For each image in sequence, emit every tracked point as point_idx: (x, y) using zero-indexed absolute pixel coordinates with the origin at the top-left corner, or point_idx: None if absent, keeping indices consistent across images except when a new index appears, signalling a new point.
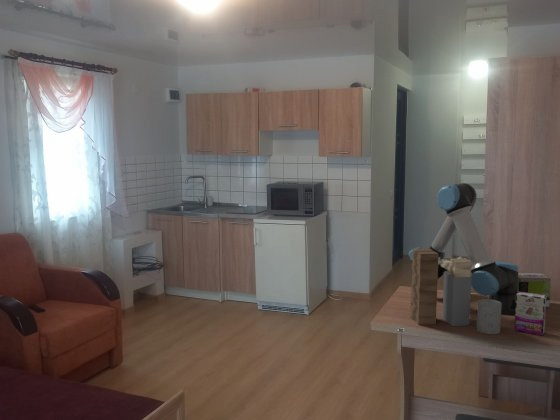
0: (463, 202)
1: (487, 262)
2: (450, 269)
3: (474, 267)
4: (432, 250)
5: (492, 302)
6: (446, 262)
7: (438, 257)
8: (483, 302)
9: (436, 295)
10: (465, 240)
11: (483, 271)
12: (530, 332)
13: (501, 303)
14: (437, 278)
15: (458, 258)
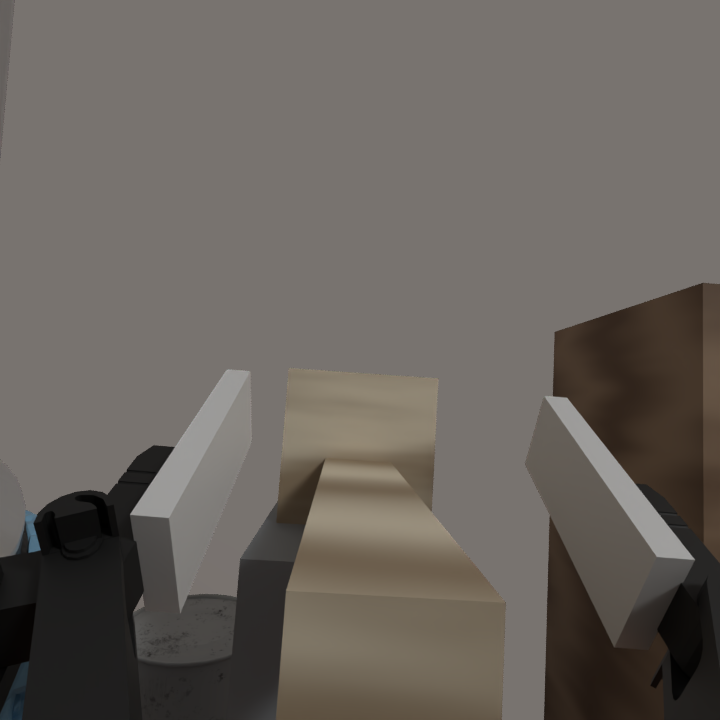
0: None
1: None
2: (431, 478)
3: (12, 527)
4: (633, 307)
5: (168, 630)
6: (415, 507)
7: (561, 401)
8: (228, 633)
9: (548, 715)
10: (4, 55)
11: (33, 515)
12: None
13: (143, 607)
14: (549, 551)
15: (234, 415)
